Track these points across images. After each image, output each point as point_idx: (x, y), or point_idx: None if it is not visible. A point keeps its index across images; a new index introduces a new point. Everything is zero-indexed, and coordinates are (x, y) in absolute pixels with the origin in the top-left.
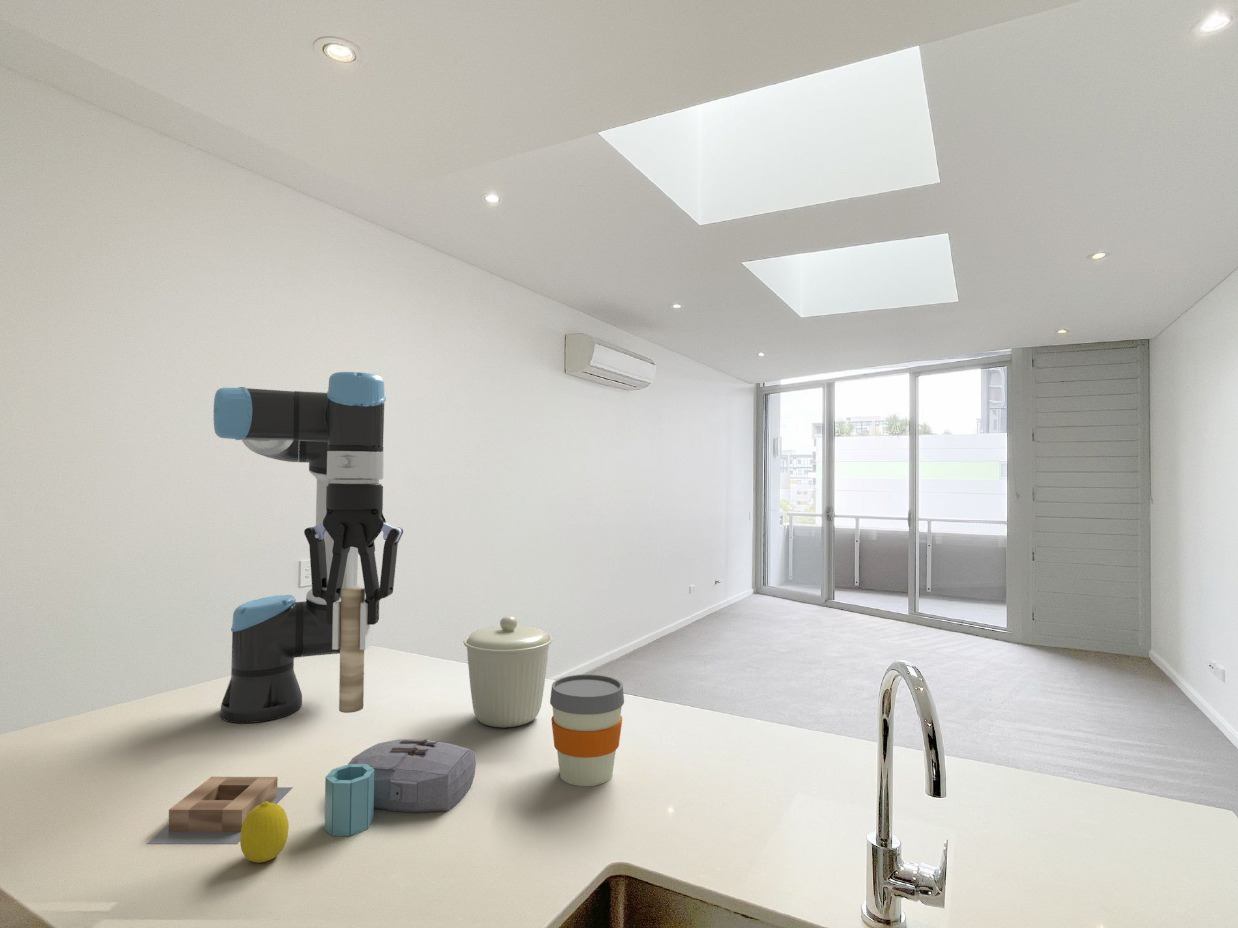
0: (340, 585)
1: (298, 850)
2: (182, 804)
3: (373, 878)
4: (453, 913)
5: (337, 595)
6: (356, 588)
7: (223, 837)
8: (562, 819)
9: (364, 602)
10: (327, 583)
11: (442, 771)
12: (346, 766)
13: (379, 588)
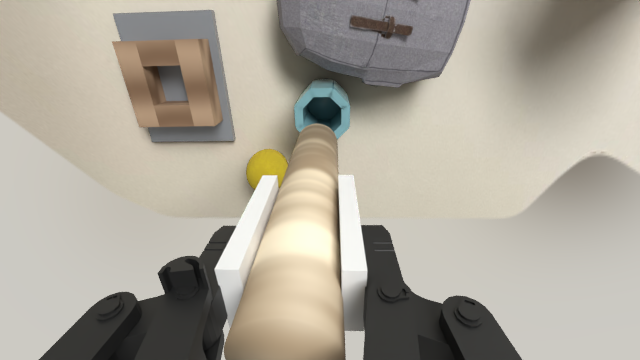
0: (199, 358)
1: (291, 138)
2: (143, 116)
3: (373, 176)
4: (443, 213)
5: (213, 319)
6: (297, 352)
7: (213, 130)
8: (564, 72)
9: (351, 318)
10: (103, 346)
11: (434, 65)
12: (309, 96)
13: (415, 325)
